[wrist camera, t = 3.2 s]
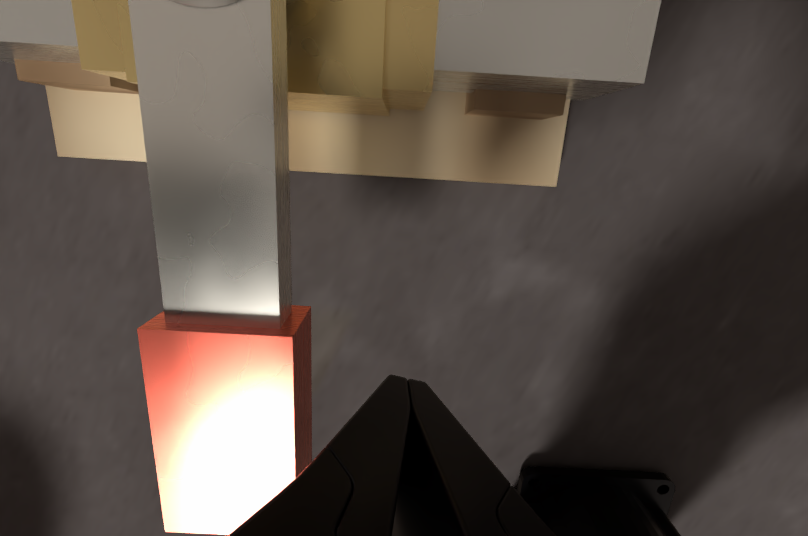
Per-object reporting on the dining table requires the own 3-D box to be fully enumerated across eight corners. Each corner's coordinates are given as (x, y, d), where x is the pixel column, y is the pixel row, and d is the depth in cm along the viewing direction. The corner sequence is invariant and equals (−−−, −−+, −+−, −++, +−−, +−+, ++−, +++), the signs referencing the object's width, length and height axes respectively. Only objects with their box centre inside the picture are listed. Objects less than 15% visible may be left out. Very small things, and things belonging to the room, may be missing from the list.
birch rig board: (588, -93, 12) (643, -165, 9) (545, 184, 14) (579, 192, 11) (36, -133, 12) (-76, -220, 9) (81, 156, 14) (3, 156, 11)
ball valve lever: (124, -190, 6) (43, -290, 5) (315, -177, 6) (289, -271, 5) (195, 476, 9) (159, 531, 8) (316, 482, 9) (301, 538, 8)
